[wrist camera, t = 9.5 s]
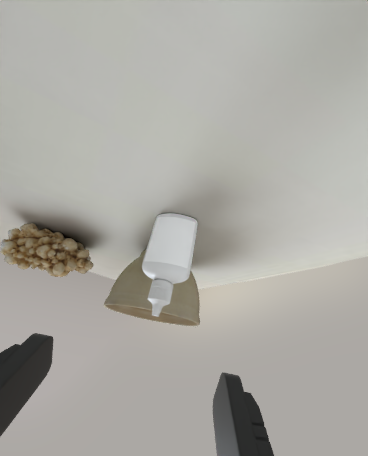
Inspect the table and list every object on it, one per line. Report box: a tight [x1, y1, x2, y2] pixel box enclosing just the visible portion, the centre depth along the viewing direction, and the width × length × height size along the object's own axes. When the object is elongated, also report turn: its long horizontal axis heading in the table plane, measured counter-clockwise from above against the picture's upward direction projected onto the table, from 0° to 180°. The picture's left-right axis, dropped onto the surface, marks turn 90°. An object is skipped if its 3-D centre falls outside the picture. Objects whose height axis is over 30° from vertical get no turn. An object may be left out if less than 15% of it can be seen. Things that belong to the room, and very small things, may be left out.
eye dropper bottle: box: [142, 213, 198, 317], centre depth 22 cm, size 4×6×12 cm
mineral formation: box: [0, 223, 93, 277], centre depth 36 cm, size 8×13×15 cm
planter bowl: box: [104, 250, 200, 326], centre depth 34 cm, size 16×16×11 cm
